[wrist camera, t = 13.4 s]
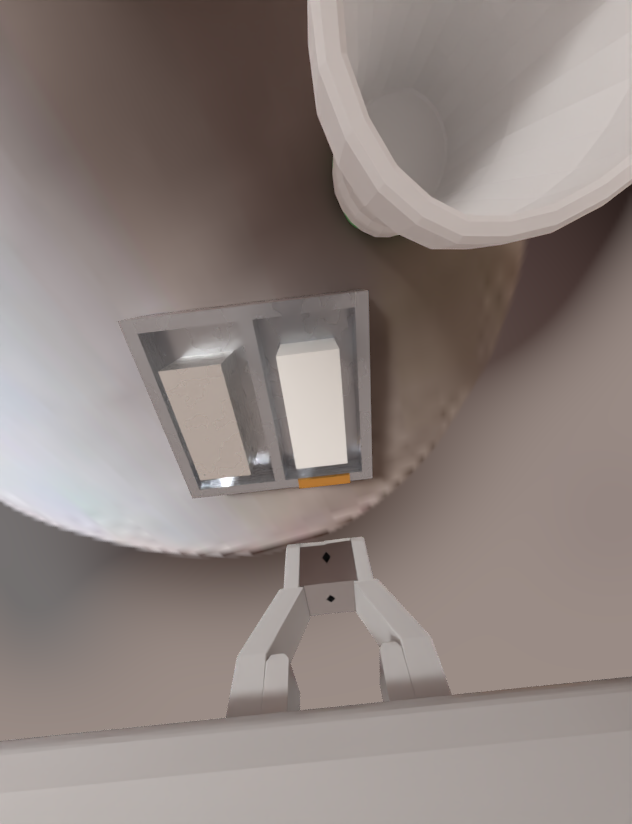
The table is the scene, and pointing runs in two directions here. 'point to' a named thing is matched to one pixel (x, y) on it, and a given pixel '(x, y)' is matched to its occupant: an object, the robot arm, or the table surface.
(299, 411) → the white rectangular block
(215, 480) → the tray
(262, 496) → the table surface
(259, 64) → the table surface
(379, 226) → the cup
